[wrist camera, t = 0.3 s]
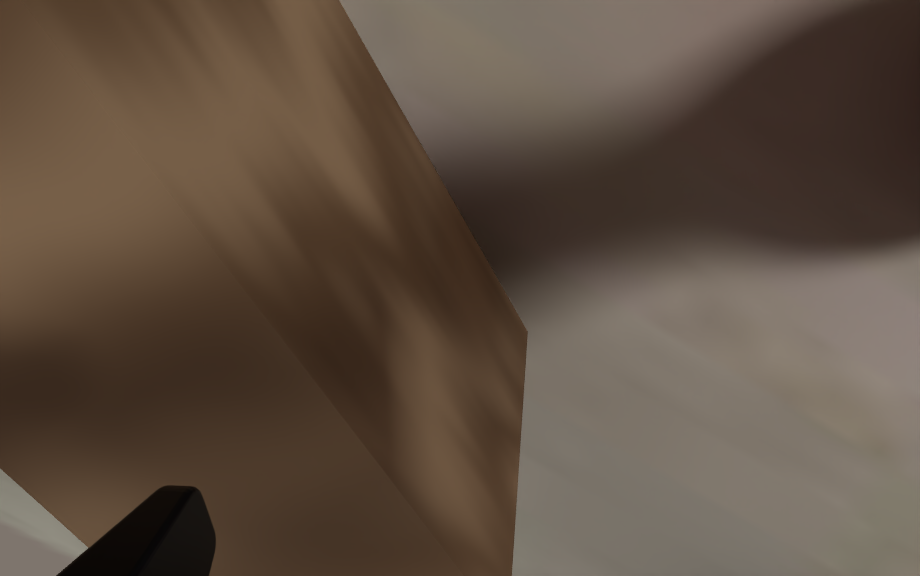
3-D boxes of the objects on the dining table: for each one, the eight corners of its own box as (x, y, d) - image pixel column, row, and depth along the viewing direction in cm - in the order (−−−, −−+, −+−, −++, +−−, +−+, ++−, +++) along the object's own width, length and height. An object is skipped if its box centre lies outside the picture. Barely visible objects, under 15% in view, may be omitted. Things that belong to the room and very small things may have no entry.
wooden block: (527, 329, 26) (507, 631, 18) (334, 391, 28) (238, 682, 20) (241, -175, 18) (-19, -52, 10) (12, -32, 21) (-345, 159, 13)
